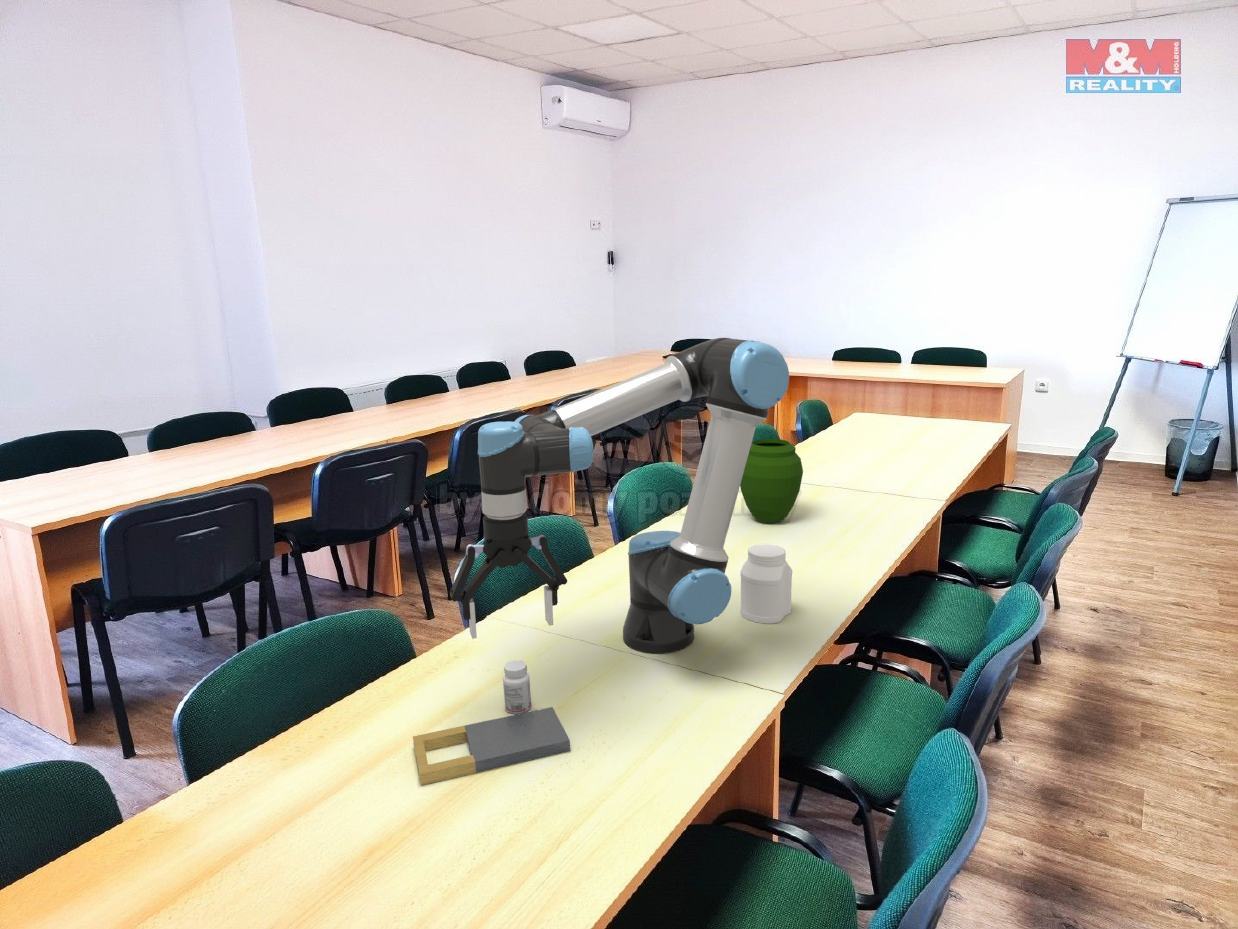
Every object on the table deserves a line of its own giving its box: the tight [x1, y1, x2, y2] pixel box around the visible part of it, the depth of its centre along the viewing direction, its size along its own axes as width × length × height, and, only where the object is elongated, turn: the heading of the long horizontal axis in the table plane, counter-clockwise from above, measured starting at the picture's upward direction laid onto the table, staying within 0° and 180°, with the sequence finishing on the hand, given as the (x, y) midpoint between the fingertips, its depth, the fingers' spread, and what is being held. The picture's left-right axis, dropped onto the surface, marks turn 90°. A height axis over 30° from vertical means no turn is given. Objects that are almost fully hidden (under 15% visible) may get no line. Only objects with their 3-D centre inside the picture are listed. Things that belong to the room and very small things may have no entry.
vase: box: [739, 438, 804, 524], centre depth 242 cm, size 20×20×24 cm
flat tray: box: [412, 706, 571, 786], centre depth 132 cm, size 24×11×2 cm, turn 110°
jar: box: [739, 543, 793, 625], centre depth 178 cm, size 12×10×15 cm
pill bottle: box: [502, 659, 532, 715], centre depth 143 cm, size 5×5×8 cm
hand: (511, 629), depth 140 cm, fingers open, 13 cm apart
